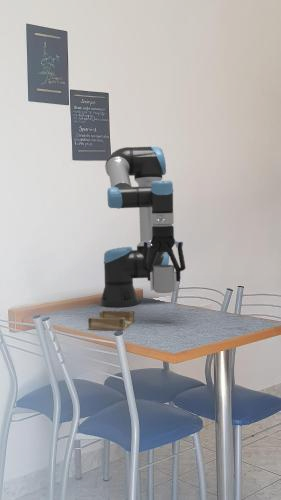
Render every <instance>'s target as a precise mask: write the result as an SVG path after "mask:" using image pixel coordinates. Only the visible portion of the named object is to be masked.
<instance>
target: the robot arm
mask: <svg viewBox="0 0 281 500" xmlns="http://www.w3.org/2000/svg"><path fill="white" fill-rule="evenodd" d="M104 168H105V172H106V174H107V176H108V177H109V183H110V187H108V188H107V190H106V191H107V193H106V194H107V195H106V196H107V206H108V208H110V209H135V208H136V209H137V208H139V212H138V215H139V238H140V241H139V242H138V244H137V245H136V249H134V250H133V248H132V246H124V247H123V246H122V247H117V248H113V249H109V250H106V251H105V252H104V255H103V264H104V265H103V266H104V267H103V268H104V271H103V272H104V288H103V291H102V295H101V298H100V304H101V306H103V307H110V308H123V307H131V306H136V305H138V301H139V300H138V296H137V293H136V291H135V287H134V284H133V283H134V279H147V281H148V282H150V283H149V284H150V291H154V269H153V266H155V265H170V264H169V261H171V263H172V265H173V266H174V292H177V291H178V290H179V289H178V287H179V285H178V283H179V282H180V281H181V272H183V271H185V270H186V268H187V267H186V263H185V256H184V252H183V246H184V242H183V241H176V239H175V231H174V222H175V221H174V219H175V218H174V186H173V185H174V183H173V182H172V181H171V180H163V176H165V175H166V174H167V164H166V159H165V153H164V151H163V149H161V147H159V146H137V147H136V146H135V147H134V146H131V147H130V146H129V147H122V148H118V149H116V150H115V151H113V152H112V153H111V154H110V155H109V156H108V157H107V159H106V161H105V165H104ZM131 176H134V177H133V178H134V181H135V182H136V183H137V185H138V186H132V181H131V178H130V177H131ZM174 246H175V247H176V248H177V254H178V260H179V263H178V260H177V258H176V255H175V253H174V250H173V247H174Z"/></svg>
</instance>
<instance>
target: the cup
mask: <svg viewBox="0 0 281 500" xmlns="http://www.w3.org/2000/svg"><path fill="white" fill-rule="evenodd" d="M153 269H154V290H153V291H154V293H156V294H157V293H158V294H170V293H174V292H175V291H174V272H175V268H174V266H173V264H168V265H155V266H153Z"/></svg>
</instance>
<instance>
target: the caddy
mask: <svg viewBox="0 0 281 500" xmlns="http://www.w3.org/2000/svg"><path fill="white" fill-rule="evenodd" d="M87 321H88V330H89V331H115V330H122V331H125V330H126V329H128V328H129V327H130V326H131V325H133V324H134V323H135V311H134V310H129V311H128V310H101V311H99V317H94V316H90V317H89V318H88V319H87Z"/></svg>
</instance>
